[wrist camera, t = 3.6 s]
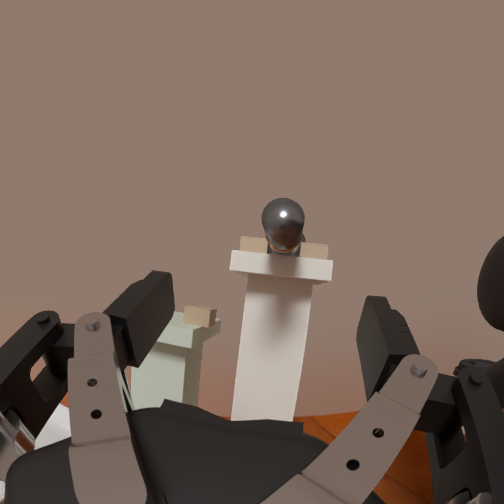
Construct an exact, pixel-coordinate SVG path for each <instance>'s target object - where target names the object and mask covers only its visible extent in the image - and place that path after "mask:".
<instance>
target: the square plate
mask: <svg viewBox="0 0 504 504" xmlns="http://www.w3.org/2000/svg"><path fill="white" fill-rule="evenodd" d="M68 437H71V429H70V418H69V408H67V407H65V406H64V405H62V404H60V403H59V405H58V406H57V408H56V409H55V411H54V412H53V414H52V415H51V417H50V418H49V420H48V421H47V423H46V424H45V426H44V427H43V429H42V430H41V432H40V434H39V435H38V437H37V438H36V440H35V449H38V448H41V447H44V446H47V445H49V444H52V443H55V442H58V441H60V440H63V439H66V438H68ZM35 449H34V450H35ZM4 495H5V483H4V482H3V481H0V504H3V503H4Z"/></svg>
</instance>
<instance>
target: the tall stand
mask: <svg viewBox="0 0 504 504" xmlns="http://www.w3.org/2000/svg"><path fill="white" fill-rule="evenodd" d="M269 247H270V245H269V243H268V242H267V239H264V238H254V237H243V236H241V242H240V250H239V251H237V250H232V255H231V262H230V270H231V271H233V272H236V273H238V274H241V275H243V276H246V277H248V282H247V290H246V299H245V306H244V315H243V323H242V331H241V340H240V349H239V356H238V364H237V373H236V381H235V389H234V398H233V406H232V414H231V421H243V420H261V419H272V420H281V421H291V422H292V421H293V416H294V410H295V405H296V399H297V393H298V388H299V382H300V376H301V370H302V363H303V356H304V350H305V342H306V336H307V328H308V320H309V313H310V305H311V296H312V286H313V284H315V285H318V284H321V283H325V282H329V281H331V276H332V266H333V260H327V256H328V245H323V244H314V243H304V242H301V245H300V252H299V257H295V256H285V255H276V254H269Z"/></svg>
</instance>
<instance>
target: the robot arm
mask: <svg viewBox="0 0 504 504" xmlns="http://www.w3.org/2000/svg"><path fill="white" fill-rule="evenodd" d="M477 297H478V303H479V307H480V310H481V313H482V315H483V316H484V318H485V320H486V321H487V322H488V323H489V324H490V325H491V326H493V327H494V328H496V329H499V330H501V331H504V236H503V237H502V238H501V239H499V240H498V241H497V242H496V243H495V244H494V246H493V247H492V248H491V250H490V251H489V253H488V255H487V256H486V258H485V261H484V263H483V266H482V268H481V271H480V275H479V279H478V286H477ZM174 309H175V304H174V293H173V282H172V275H171V274H170V273H169V272H162V271H154V270H153V271H152V272H151V273H149V274H148V275H147V276H146V277H145V278H144V279H143V280H139V281H137V282H135V283H134V284H131V285H130V286H129V287H128V288H127V289H126V290H125V292H123V293H122V294H121V295H120V296H119V298H117V299H116V300H115V301H114V302H113V303H112V304H111V305H110V306H109V307H108V308H107V309H106V310H105V311H104V312H103V313H97V312H94V313H89V314H86V315H84V316H82V317H81V318H79V319H78V320H77V321H76V323H75V324H67V323H66V324H64V323H61V321H60V318H59V315H58V314H57V313H56V312H54V311H43V312H40V313H37V314H36V315H34V316H33V317H32V318H31V319H30V320H28V321H27V322H26V323H25V324H24V325H23V326H22V327H21V328H20V329H19V330H18V331H17V332H16V333H15V334H14V335H13V336H12V337H11V338H10V339H9V340H8V341H7V342H6V343H5V344H4V345H3V346H2V347H1V348H0V481H3V482H4V483H5V495H4V503H3V504H386V503H385V502H384V501H383V500H382V499H381V498H380V497H379V496H378V495H377V494H376V493H375V492H374V491H373V489H374V488H375V486H376V485H377V484H378V482H379V481H380V480H381V478H382V477H383V476H384V474H385V473H386V471H387V470H388V468H389V467H390V465H391V464H392V462H393V461H394V459H395V458H396V456H397V455H398V453H399V452H400V450H401V449H402V447H403V445H404V444H405V442H406V440H407V439H408V437H409V435H410V434H411V432H412V430H413V429H414V430H418V431H423V432H425V435H426V441H427V447H428V454H429V460H430V468H431V476H432V484H433V495H434V503H433V504H504V358H503V359H501V360H500V361H498V362H496V363H494V364H492V365H490V366H489V367H488V368H487V369H486V370H485V371H484V372H483V371H481V370H480V369H478V368H475V367H466V368H463V369H462V370H461V371H460V373H459V375H458V376H457V377H453V376H448V375H444V374H440V373H438V368H437V366H436V365H435V363H434V362H433V361H432V360H430V359H429V358H427V357H425V356H422V355H420V353H419V350H418V348H417V345H416V343H415V341H414V338H413V336H412V334H411V332H410V330H409V327H408V325H407V323H406V321H405V318H404V317H403V316H402V315H401V314H400V313H399V312H398V311H397V310H392V309H391V308H390V305H389V303H388V301H387V299H386V297H381V296H367V297H366V300H365V303H364V307H363V311H362V314H361V318H360V322H359V325H358V329H357V338H356V340H357V346H358V352H359V357H360V362H361V367H362V374H363V379H364V386H365V392H366V398H367V403H366V404H365V406H364V407H363V408H362V409H361V411H360V412H359V413H358V414H357V415H356V416H355V418H354V419H353V420H352V421H351V422H350V423H349V425H348V426H347V427H346V428H345V429H344V430H343V431H342V432H341V433H340V434H339V436H338V437H337V438H336V439H335V440H334V441H333V442H332V443H331V444H330V445H329V444H327V443H326V442H324V441H322V440H321V439H319V438H317V437H315V436H312V435H310V434H307V433H303V423H302V422H291V421H281V420H272V419H261V420H243V421H230V420H226V419H224V418H221V417H219V416H217V415H214V414H212V413H210V412H207V411H205V410H203V409H201V408H199V407H196V406H192V405H188V404H184V403H180V402H176V401H172V400H168V399H164V401H163V403H162V405H161V407H149V408H141V409H137V410H135V407H134V404H133V400H132V396H131V392H130V388H129V384H128V380H127V376H126V372H125V368H126V367H127V365H129V366H132V367H136V368H139V367H140V365H141V364H142V362H143V361H144V359H145V358H146V356H147V355H148V353H149V352H150V350H151V349H152V347H153V346H154V344H155V343H156V341H157V340H158V338H159V337H160V335H161V334H162V332H163V331H164V329H165V328H166V326H167V325H168V323H169V322H170V320H171V319H172V317H173V314H174ZM41 356H42V357H43V359H44V361H45V364H46V366H45V367H44V368H43V370H42V371H41V372H40V373H39V374H38V376H37V377H36V378H35V379H34V381H33V382H32V381H31V378H30V370H31V368H32V366H33V365H34V364H35V363H36V362H37V361H38V359H39V358H40V357H41ZM67 392H68V402H69V418H70V429H71V437H68V438H66V439H63V440H60V441H58V442H55V443H52V444H49V445H47V446H44V447H41V448H38V449H35V440H36V438H37V437H38V435H39V434H40V432H41V430H42V429H43V427H44V426H45V424H46V423H47V421H48V420H49V418H50V417H51V415H52V414H53V412H54V411H55V409H56V408H57V406H58V405H59V403H60V402H61V400H62V399H63V397H64V396H65V395H66V393H67ZM462 426H463V427H464V430H465V435H463V431H462ZM34 449H35V450H34Z"/></svg>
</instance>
